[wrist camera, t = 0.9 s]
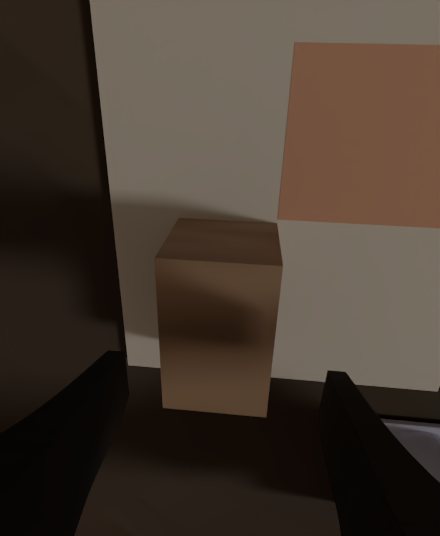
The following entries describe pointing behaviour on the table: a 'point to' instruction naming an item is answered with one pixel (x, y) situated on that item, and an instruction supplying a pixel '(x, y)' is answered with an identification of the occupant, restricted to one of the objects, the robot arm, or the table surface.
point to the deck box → (218, 314)
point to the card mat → (285, 166)
